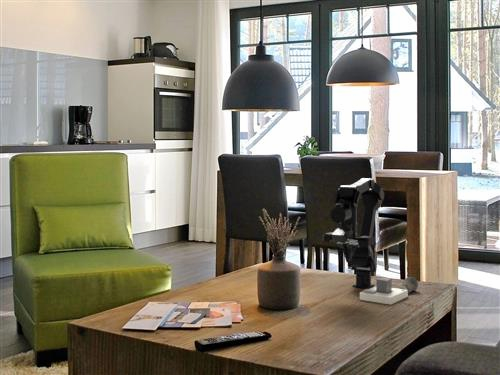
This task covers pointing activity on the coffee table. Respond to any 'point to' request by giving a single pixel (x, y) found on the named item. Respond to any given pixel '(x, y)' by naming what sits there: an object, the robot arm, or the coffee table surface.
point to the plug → (384, 285)
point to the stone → (409, 284)
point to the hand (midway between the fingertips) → (348, 262)
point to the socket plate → (383, 295)
